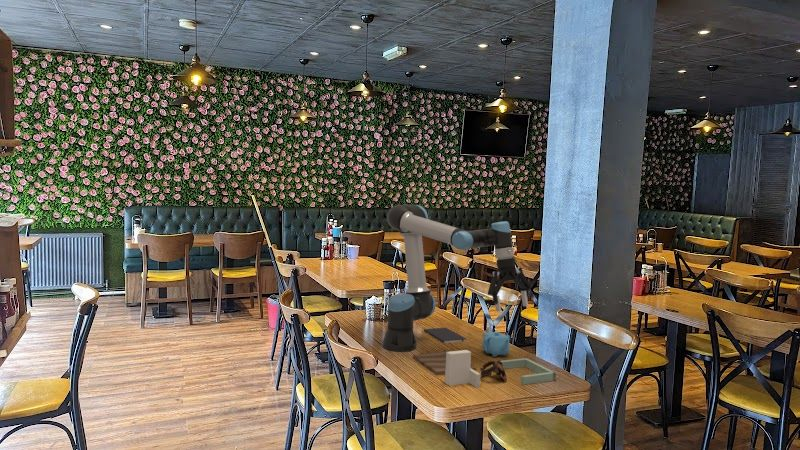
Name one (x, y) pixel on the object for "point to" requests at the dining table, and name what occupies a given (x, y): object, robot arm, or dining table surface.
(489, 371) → the brown twisted sculpture
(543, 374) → the corral
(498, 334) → the blue piggy bank
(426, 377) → the dining table surface
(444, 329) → the notebook
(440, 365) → the board
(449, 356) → the grey l-shaped bookend
